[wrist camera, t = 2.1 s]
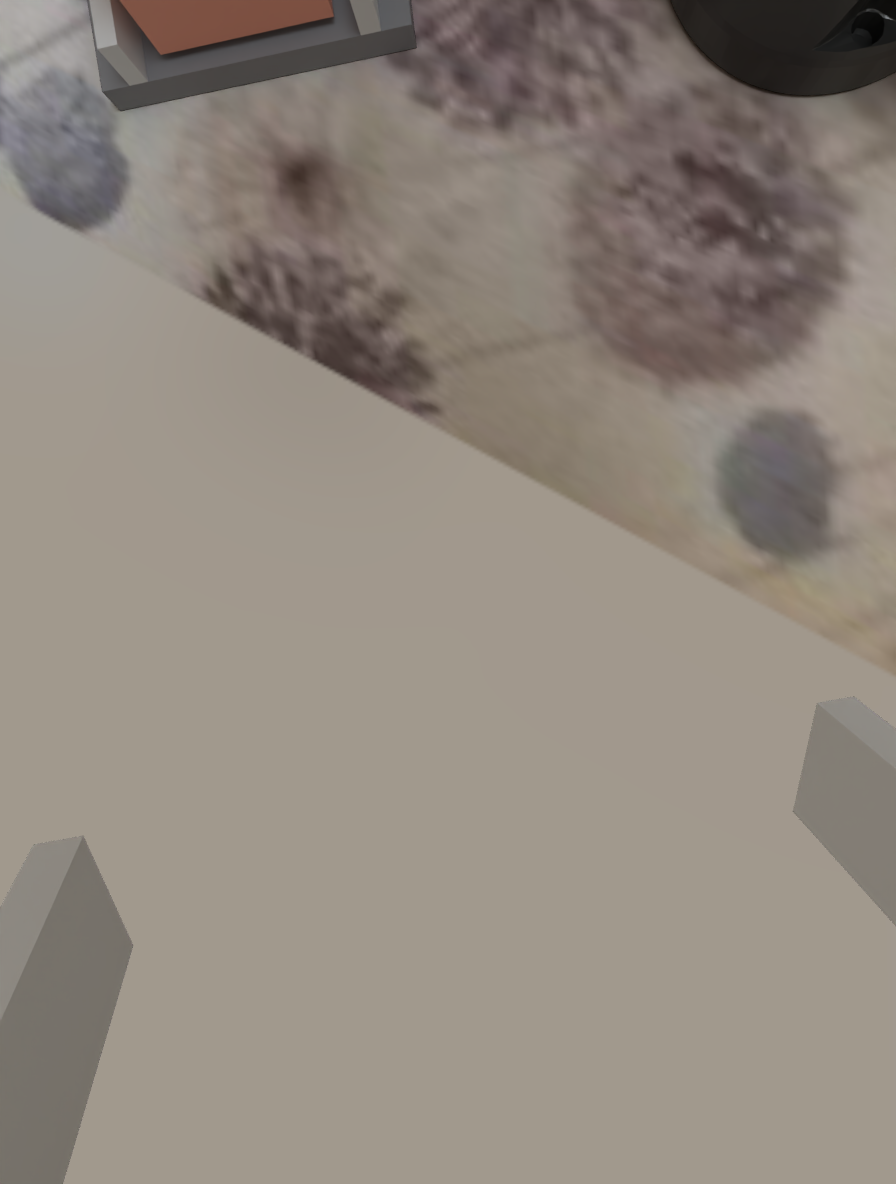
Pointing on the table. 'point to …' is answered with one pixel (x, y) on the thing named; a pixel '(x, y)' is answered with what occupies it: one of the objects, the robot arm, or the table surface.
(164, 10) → the orange brown-topped block
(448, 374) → the table surface
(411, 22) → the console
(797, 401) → the table surface
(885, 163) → the table surface
